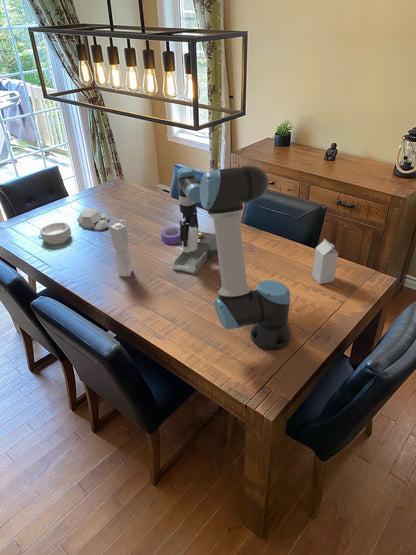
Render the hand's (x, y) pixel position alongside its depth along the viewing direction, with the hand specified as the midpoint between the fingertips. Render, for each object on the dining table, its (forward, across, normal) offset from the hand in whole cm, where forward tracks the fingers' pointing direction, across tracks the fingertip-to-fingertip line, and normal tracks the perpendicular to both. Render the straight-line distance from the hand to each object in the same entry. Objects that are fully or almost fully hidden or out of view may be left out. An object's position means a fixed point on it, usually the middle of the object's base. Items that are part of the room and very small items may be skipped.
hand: (190, 247), depth 198 cm
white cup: (0, 0, 0) cm, 0 cm away
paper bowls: (+10, -4, +78) cm, 79 cm away
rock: (+10, +18, +70) cm, 73 cm away
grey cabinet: (+9, -1, 0) cm, 9 cm away
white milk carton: (+9, +9, -61) cm, 63 cm away
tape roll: (+10, +19, +20) cm, 29 cm away
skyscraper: (+10, -19, +25) cm, 33 cm away
